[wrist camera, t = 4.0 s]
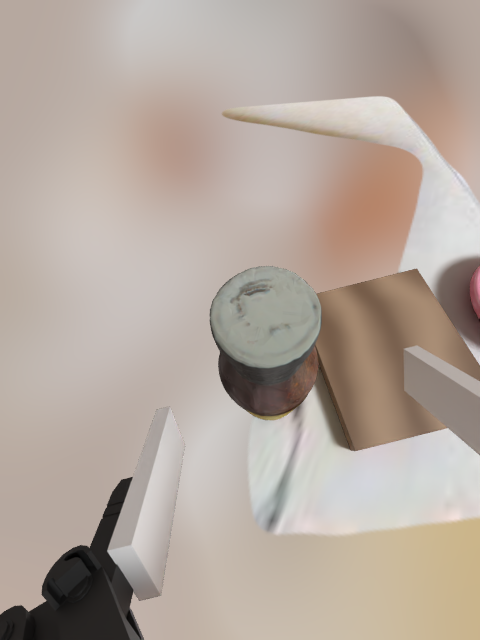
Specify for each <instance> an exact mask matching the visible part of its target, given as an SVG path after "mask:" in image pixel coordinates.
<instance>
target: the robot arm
mask: <svg viewBox="0 0 480 640" xmlns="http://www.w3.org/2000/svg"><path fill="white" fill-rule="evenodd" d="M404 391H406V392H407V393H408V394H409V395H410V396H411V397H413V398H414V399H415V400H416V401H417V402H418V403H420V404H421V405H422V406H423V407H424V408H425V409H427V410H428V411H429V412H430V413H431V414H432V415H433V416H435V417H436V418H437V419H438V420H439V421H440V422H442V423H443V424H444V425H445V426H446V427H447V428H449V429H450V430H451V431H452V432H453V433H454V434H456V435H457V436H458V437H459V438H460V439H461V440H463V441H464V442H465V443H466V444H467V445H468V446H470V447H471V448H472V449H473V450H474V451H475V452H477V453H478V454H479V455H480V381H478V380H476V379H475V378H473V377H471V376H469V375H468V374H466V373H464V372H463V371H461V370H459V369H457V368H456V367H454V366H452V365H450V364H449V363H447V362H445V361H443V360H442V359H440V358H438V357H436V356H435V355H433V354H431V353H429V352H428V351H426V350H424V349H423V348H421V347H419V346H413V347H409V348H405V349H404ZM184 448H185V443H184V440H183V438H182V435H181V433H180V430H179V428H178V425H177V423H176V420H175V418H174V415H173V412H172V410H171V407H170V406H169V407H165V408H161V409H157V410H156V413H155V415H154V418H153V421H152V424H151V427H150V430H149V433H148V435H147V438H146V441H145V444H144V447H143V450H142V453H141V456H140V458H139V461H138V464H137V467H136V470H135V473H134V475H133V477H131V478H127V479H123V480H121V481H120V483H119V484H118V485H117V487H116V488H115V489H114V491H113V492H112V495H111V497H110V500H109V502H108V504H107V508H106V509H105V511H104V514H103V519H101V521H100V524H99V526H98V529H97V531H96V534H95V536H94V538H93V541H92V543H91V546H90V548H89V547H87V546H82V545H80V546H77V547H75V548H72V549H71V550H69V551H68V552H66V553H65V554H63V555H62V556H61V557H60V559H59V560H58V561H57V562H56V563H55V564H54V565H53V567H52V568H51V569H50V571H49V573H48V574H47V576H46V578H45V580H44V583H43V586H42V596H43V597H44V598H45V599H46V600H47V601H46V602H44V603H43V604H41V605H39V606H38V607H36V608H34V609H33V610H31V611H29V612H28V611H27V610H26V609H25V608H24V607H23V606H14V607H12V608H10V609H8V610H6V611H4V612H3V613H2V614H1V615H0V640H144V638H143V636H142V634H141V631H140V629H139V627H138V624H137V622H136V619H135V617H134V615H133V612H132V610H131V609H130V603H131V599H132V595H133V592H134V594H135V595H136V597H137V598H138V600H139V601H141V600H145V599H149V598H154V597H158V596H161V593H162V587H163V580H164V574H165V567H166V561H167V555H168V548H169V542H170V536H171V530H172V523H173V517H174V511H175V505H176V499H177V492H178V486H179V479H180V473H181V467H182V461H183V455H184Z"/></svg>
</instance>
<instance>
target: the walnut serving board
mask: <svg viewBox="0 0 480 640" xmlns="http://www.w3.org/2000/svg"><path fill="white" fill-rule="evenodd" d="M316 295H317V297H318V299H319V302H320V305H321V310H322V324H321V330H320V333H319V336H318V339H317V341H316V343H315V348H316V351H317V356H318V362H319V365H320V368H321V371H322V374H323V376H324V379H325V382H326V384H327V387H328V390H329V393H330V395H331V398H332V401H333V403H334V406H335V409H336V411H337V414H338V417H339V420H340V422H341V425H342V428H343V430H344V433H345V436H346V439H347V441H348V444H349V447H350V449H351V451H358V450H362V449H366V448H370V447H374V446H378V445H382V444H386V443H390V442H394V441H398V440H402V439H406V438H410V437H414V436H418V435H422V434H426V433H430V432H434V431H438V430H442V429H446V428H447V427H446V426H445V425H444V424H443V423H442V422H440V421H439V420H438V419H437V418H436V417H435V416H433V415H432V414H431V413H430V412H429V411H428V410H427V409H425V408H424V407H423V406H422V405H421V404H420V403H418V402H417V401H416V400H415V399H414V398H413V397H411V396H410V395H409V394H408V393H407V392H406V391H404V349H405V348H409V347H413V346H419V347H421V348H423V349H424V350H426V351H428V352H429V353H431V354H433V355H435V356H436V357H438V358H440V359H442V360H443V361H445V362H447V363H449V364H450V365H452V366H454V367H456V368H457V369H459V370H461V371H463V372H464V373H466V374H468V375H469V376H471V377H473V378H475V379H476V380H478V381H480V365H479V364H478V362H477V361H476V359H475V357H474V356H473V354H472V353H471V351H470V350H469V348H468V347H467V345H466V344H465V342H464V341H463V339H462V337H461V336H460V334H459V333H458V331H457V330H456V328H455V327H454V325H453V324H452V322H451V321H450V319H449V317H448V316H447V314H446V313H445V311H444V310H443V308H442V307H441V305H440V304H439V302H438V301H437V299H436V297H435V296H434V294H433V293H432V291H431V290H430V288H429V287H428V285H427V284H426V282H425V280H424V279H423V277H422V276H421V274H420V273H419V271H418V270H417V269H413V270H409V271H405V272H401V273H397V274H393V275H390V276H385V277H382V278H377V279H373V280H370V281H365V282H361V283H357V284H353V285H350V286H346V287H342V288H338V289H334V290H330V291H326V292H322V293H318V294H316Z"/></svg>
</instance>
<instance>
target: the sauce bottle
mask: <svg viewBox="0 0 480 640" xmlns="http://www.w3.org/2000/svg"><path fill="white" fill-rule="evenodd" d="M321 324H322V310H321V305H320V302H319V299H318V297H317V295H316V293H315V291H314V290H313V288H312V287H310V286H309V285H308V284H307V283H306V281H305V280H303V279H302V278H301V277H299V276H298V275H297V274H296V273H293V272H291V271H289V270H286V269H282V268H278V267H273V266H266V267H265V266H264V267H256V268H250V269H248V270H245V271H244V272H241V273H239V274H237V275H236V276H234V277H233V278H231V279H230V280H229V281H228V282H226V283H225V284H224V285H223V286H222V287H221V288H220V290H219V291H218V293H217V295H216V297H215V298H214V299H213V301H212V305H211V309H210V325H211V331H212V334H213V338H214V340H215V342H216V345H217V346H218V348H219V350H220V355H219V363H218V365H219V366H218V367H219V374H220V378H221V382H222V384H223V386H224V388H225V390H226V392H227V393H228V394H229V396H230V397H231V398H232V399H233V400H234V401H235V402H236V403H237V404H238V405H239V406H241V407H242V408H243V409H245V410H246V411H248V412H249V413H250V414H252V415H253V416H255V417H257V418H260V419H264V420H277V419H280V418H282V417H284V416H286V415H287V414H289V413H290V412H291V411H293V410H294V409H295V408H296V407H298V406H299V405H300V404H301V403H302V402H303V401H304V399H305V398H306V397H307V395H308V393H309V391H310V390H311V389H312V387H313V385H314V383H315V380H316V377H317V372H318V365H319V362H318V356H317V351H316V348H315V343H316V341H317V339H318V336H319V333H320V330H321Z"/></svg>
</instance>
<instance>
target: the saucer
mask: <svg viewBox="0 0 480 640" xmlns="http://www.w3.org/2000/svg"><path fill="white" fill-rule="evenodd" d="M470 296H471V302H472V305H473V308H474V310H475V312H476V314H477V316H478V318H479V319H480V266H479V267H478V268H477V269H476V270H475V272H474V274H473V276H472V278H471V282H470Z"/></svg>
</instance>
